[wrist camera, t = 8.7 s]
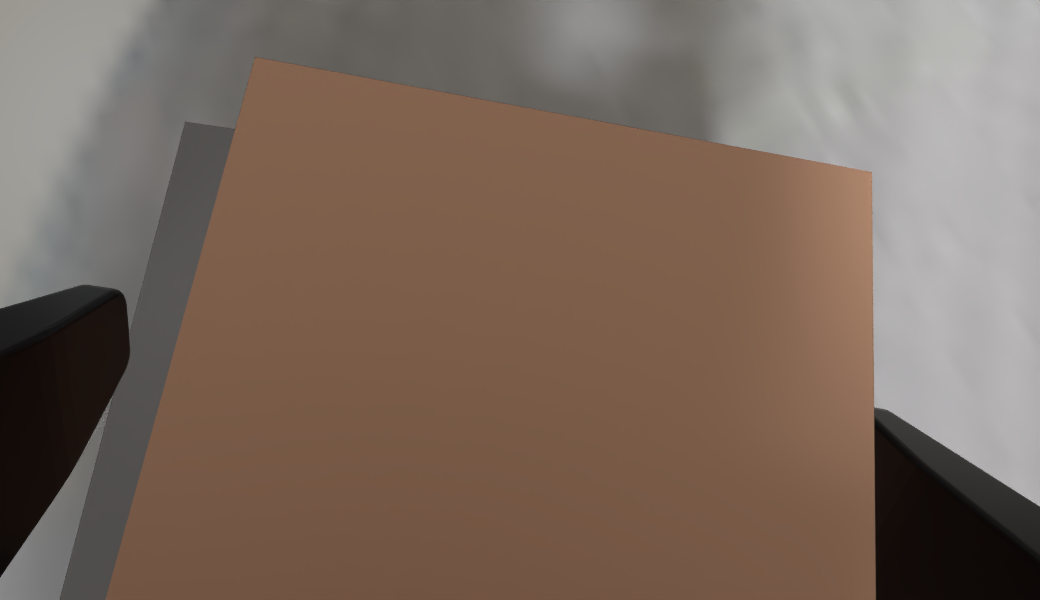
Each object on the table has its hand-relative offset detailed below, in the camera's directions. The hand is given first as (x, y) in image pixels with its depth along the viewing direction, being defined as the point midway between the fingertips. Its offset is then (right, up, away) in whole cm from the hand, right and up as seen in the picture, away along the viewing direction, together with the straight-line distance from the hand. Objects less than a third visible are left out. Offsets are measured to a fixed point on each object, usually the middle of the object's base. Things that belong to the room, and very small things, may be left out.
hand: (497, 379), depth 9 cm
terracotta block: (-1, -3, +7) cm, 8 cm away
